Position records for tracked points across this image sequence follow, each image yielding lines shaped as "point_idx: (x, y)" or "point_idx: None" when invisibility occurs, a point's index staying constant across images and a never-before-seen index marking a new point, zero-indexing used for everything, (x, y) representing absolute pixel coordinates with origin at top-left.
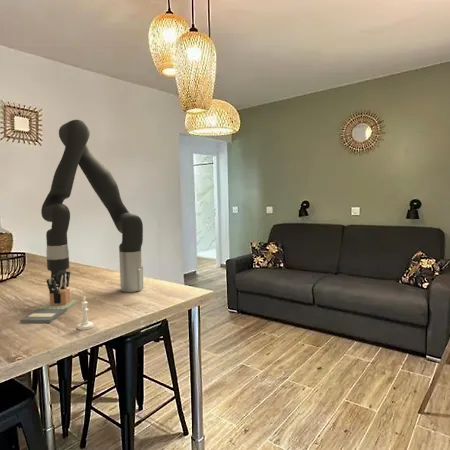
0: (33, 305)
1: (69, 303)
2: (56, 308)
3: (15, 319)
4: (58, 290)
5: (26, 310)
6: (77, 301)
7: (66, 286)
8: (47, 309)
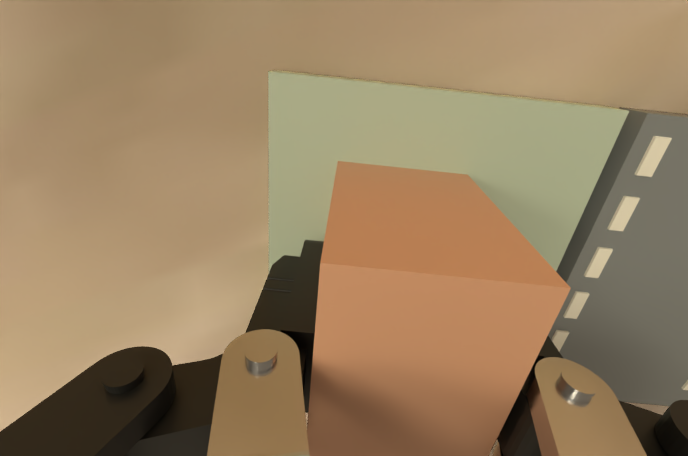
0: None
1: (415, 145)
2: (605, 238)
3: None
4: (635, 440)
5: None
6: (274, 71)
7: (175, 381)
8: (603, 315)
